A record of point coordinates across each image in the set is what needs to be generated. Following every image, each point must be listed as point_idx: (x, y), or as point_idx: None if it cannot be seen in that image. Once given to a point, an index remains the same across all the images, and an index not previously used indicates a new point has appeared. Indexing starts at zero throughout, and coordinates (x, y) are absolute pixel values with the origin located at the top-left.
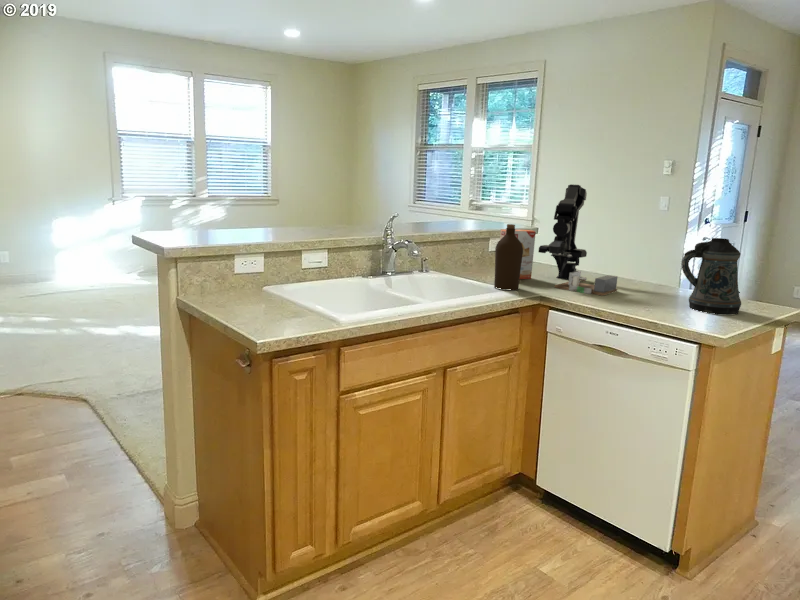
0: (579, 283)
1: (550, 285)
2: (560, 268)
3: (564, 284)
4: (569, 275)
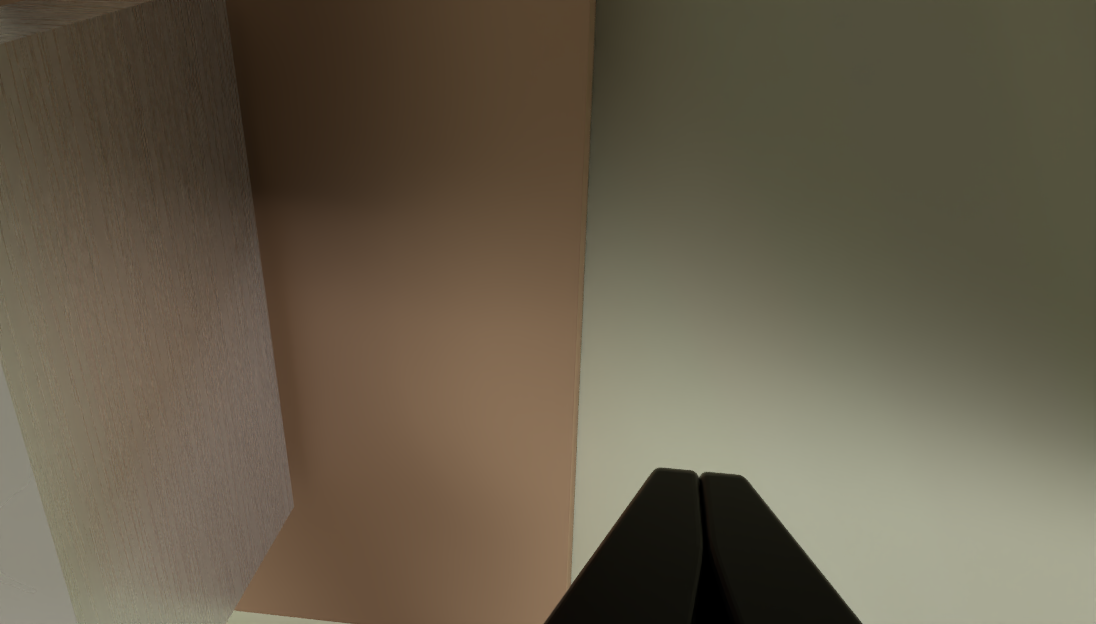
0: (283, 544)
1: (866, 21)
2: (662, 551)
3: (446, 139)
4: (7, 32)
